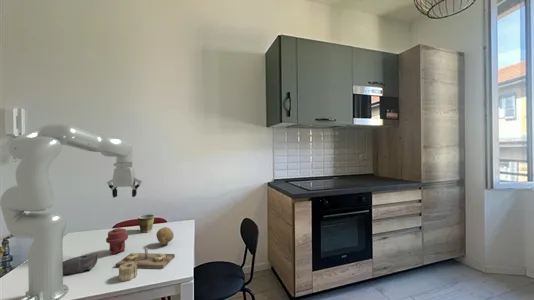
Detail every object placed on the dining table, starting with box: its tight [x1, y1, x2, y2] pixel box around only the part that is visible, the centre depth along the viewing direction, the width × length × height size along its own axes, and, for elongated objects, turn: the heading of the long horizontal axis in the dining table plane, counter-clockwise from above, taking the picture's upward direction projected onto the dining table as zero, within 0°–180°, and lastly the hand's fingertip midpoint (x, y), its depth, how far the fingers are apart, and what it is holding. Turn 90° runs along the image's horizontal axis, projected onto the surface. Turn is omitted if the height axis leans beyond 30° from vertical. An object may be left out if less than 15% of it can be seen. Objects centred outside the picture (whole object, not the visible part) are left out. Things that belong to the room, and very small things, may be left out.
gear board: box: [115, 247, 176, 270], centre depth 118 cm, size 12×23×7 cm, turn 86°
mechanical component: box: [105, 227, 129, 255], centre depth 130 cm, size 12×10×10 cm
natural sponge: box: [155, 226, 174, 246], centre depth 139 cm, size 9×9×10 cm
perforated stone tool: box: [63, 253, 99, 275], centre depth 109 cm, size 15×5×7 cm, turn 114°
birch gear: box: [118, 262, 138, 282], centre depth 104 cm, size 7×7×5 cm
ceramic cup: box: [137, 213, 155, 234], centre depth 163 cm, size 13×10×10 cm
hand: (124, 196), depth 132 cm, fingers open, 9 cm apart
